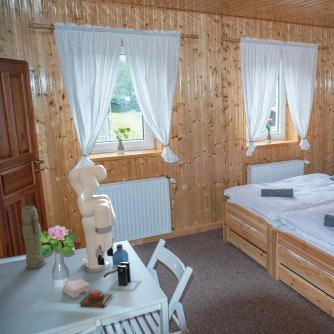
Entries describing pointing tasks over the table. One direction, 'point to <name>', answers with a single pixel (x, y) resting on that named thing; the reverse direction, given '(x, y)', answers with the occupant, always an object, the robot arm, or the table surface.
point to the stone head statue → (32, 237)
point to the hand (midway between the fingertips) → (106, 260)
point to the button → (95, 293)
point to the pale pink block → (76, 287)
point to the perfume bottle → (120, 255)
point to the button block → (95, 300)
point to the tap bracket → (124, 274)
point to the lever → (114, 271)
